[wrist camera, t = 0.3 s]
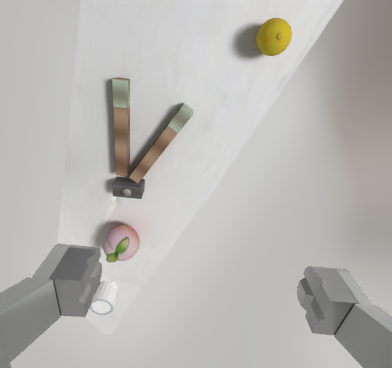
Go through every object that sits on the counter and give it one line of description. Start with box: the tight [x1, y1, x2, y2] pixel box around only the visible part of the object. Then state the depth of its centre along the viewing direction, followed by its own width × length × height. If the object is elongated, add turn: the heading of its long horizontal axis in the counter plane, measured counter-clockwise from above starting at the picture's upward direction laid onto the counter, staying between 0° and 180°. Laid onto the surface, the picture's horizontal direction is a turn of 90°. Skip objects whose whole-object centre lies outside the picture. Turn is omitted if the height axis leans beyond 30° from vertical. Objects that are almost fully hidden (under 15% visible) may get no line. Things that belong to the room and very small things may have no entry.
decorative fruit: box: [103, 225, 140, 262], centre depth 62 cm, size 9×8×10 cm
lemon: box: [256, 18, 292, 56], centre depth 42 cm, size 6×6×8 cm
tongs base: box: [112, 78, 145, 199], centre depth 53 cm, size 25×6×5 cm, turn 173°
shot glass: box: [90, 281, 118, 315], centre depth 74 cm, size 7×7×7 cm
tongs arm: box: [129, 103, 193, 183], centre depth 54 cm, size 20×2×3 cm, turn 141°
